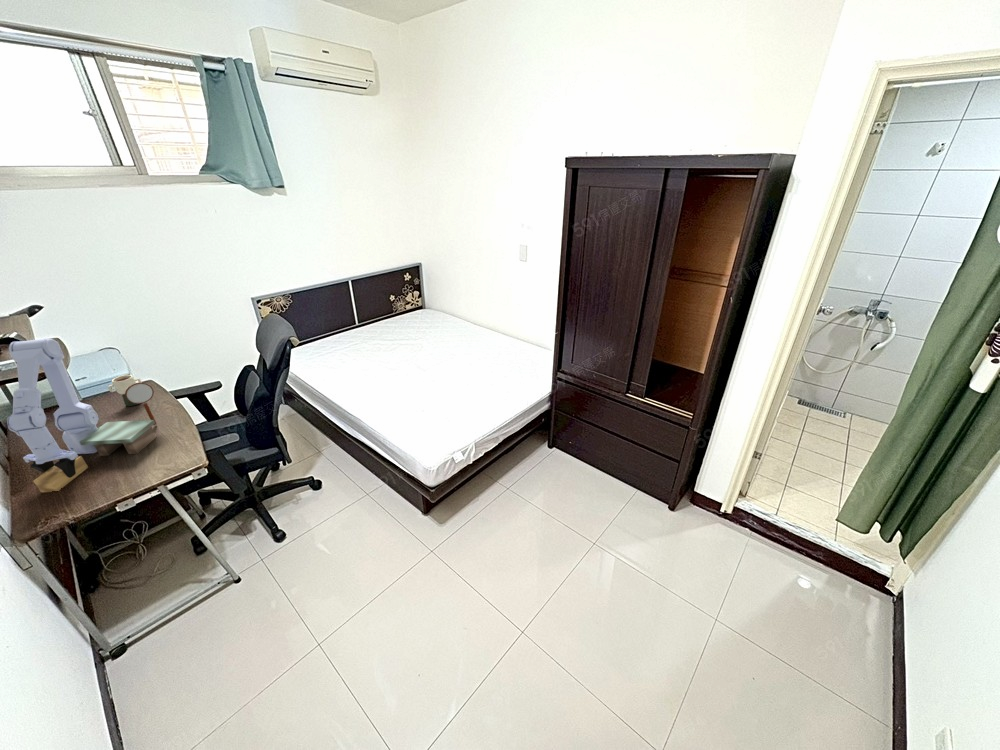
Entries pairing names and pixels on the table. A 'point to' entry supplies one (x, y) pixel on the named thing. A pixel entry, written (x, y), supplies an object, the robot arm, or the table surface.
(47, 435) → the robot arm
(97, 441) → the socket shed
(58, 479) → the peg
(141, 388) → the magnifying glass
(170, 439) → the table surface
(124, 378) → the character mug
